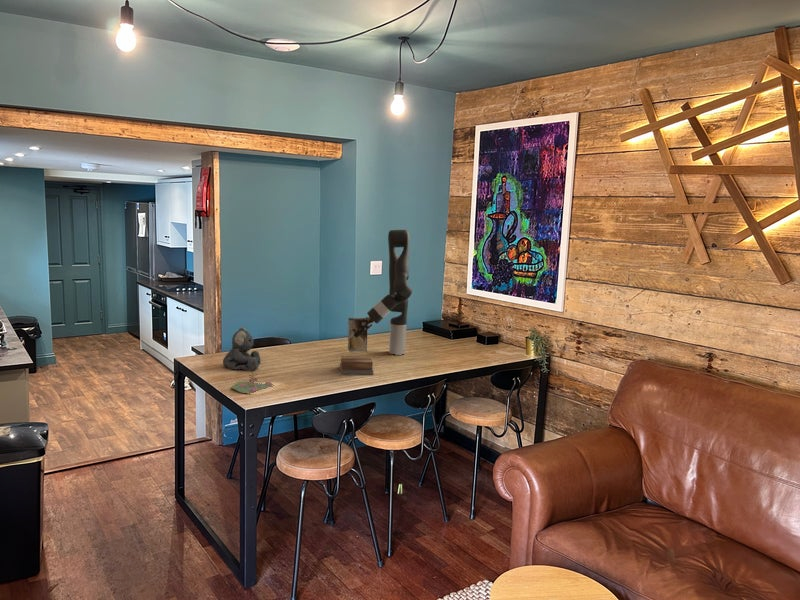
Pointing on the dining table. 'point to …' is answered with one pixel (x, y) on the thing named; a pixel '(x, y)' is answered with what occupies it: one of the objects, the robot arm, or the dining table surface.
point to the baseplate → (356, 371)
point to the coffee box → (361, 341)
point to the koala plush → (242, 352)
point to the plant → (250, 386)
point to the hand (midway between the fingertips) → (354, 334)
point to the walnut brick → (356, 363)
